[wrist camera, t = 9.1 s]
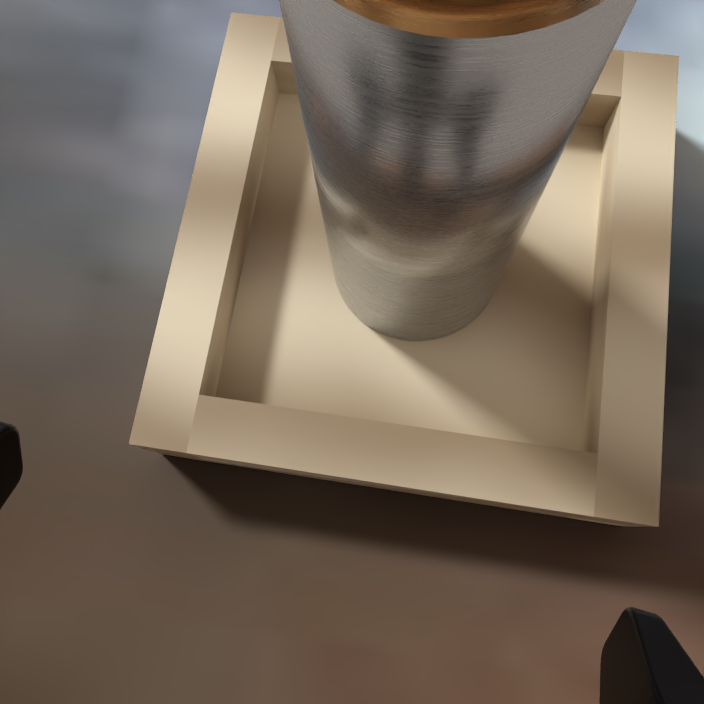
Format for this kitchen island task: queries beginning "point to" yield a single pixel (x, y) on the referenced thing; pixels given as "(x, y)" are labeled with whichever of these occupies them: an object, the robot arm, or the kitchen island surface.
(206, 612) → the kitchen island surface
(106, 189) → the kitchen island surface
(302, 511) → the kitchen island surface
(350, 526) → the kitchen island surface
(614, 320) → the shallow square beige tray
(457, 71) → the lidded storage canister
